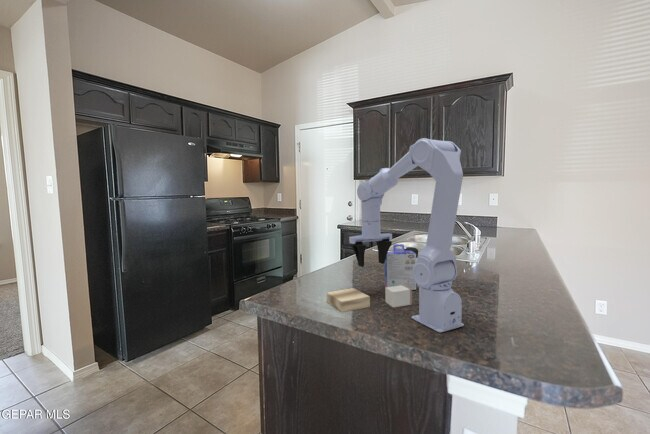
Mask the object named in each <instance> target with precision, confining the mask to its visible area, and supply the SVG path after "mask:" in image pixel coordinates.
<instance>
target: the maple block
mask: <svg viewBox="0 0 650 434" xmlns="http://www.w3.org/2000/svg"><path fill="white" fill-rule="evenodd" d="M326 302H327V303H328V304H329V305H330V306H332V307H333V308H335V309H336V310H338V311H339V312H341V313H344V312H349V311H355V310H360V309H364V308H370V307H371V296H370V295H368V294H366V293H364V292H362V291H360V290H358V289H356V288H354V287H351V288H345V289H339V290H334V291H328V292H326Z"/></svg>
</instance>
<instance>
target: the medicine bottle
mask: <svg viewBox="0 0 650 434" xmlns="http://www.w3.org/2000/svg"><path fill="white" fill-rule="evenodd" d="M404 248H405V251H413V252H415V253H416V261H417V258H418V254H419V250H418V248H416V247H413V246H411V247H410V246H407V247H405V246H404ZM416 285H417V283H416Z"/></svg>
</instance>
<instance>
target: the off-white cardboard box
mask: <svg viewBox="0 0 650 434" xmlns="http://www.w3.org/2000/svg"><path fill="white" fill-rule="evenodd" d="M384 291H385V293H384V294H385V303H386V304H387V305H389V306H390V307H391V308H399V307H404V306H405V307H406V306H413V290H412V289H411V288H409V287H407V286H405V285H400V286H393V287H385V286H384Z"/></svg>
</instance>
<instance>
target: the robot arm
mask: <svg viewBox="0 0 650 434" xmlns="http://www.w3.org/2000/svg"><path fill="white" fill-rule="evenodd" d="M461 154H462V150H461V149H460V148H459V147H458V145H456V144H455V142H453V141H450V140H439V139H430V138H426V137H422V138H419V139H418V140H416V141H415V143H413V144H412V145H410V146H409V149H408V151H407V153H406V154H404V155H403V156H402V157H401V158H400V159H399V160H398V161H397V162H395V164H393V165H392V166H391V167H390V168H389V167H384V168H383V167H382V168H380V169H379V172H378V173H377V174H376V175H374V176H372V177H371V178H369V180H367V181H361V182H360V183H359V184H358V186H357V188H356V193H357V197H358V199H359V200H360V201H361V205H360V206H361V207H360V208H361V209H360V210H361V234H359V235H353V236H349V237H348V238H349V239H348V240H349V241H348V243H349V244H350V246H351V248H352V250H353V252H354V255H355V257H356V261H357V265H358V267H360V268H364V267H365V253H366V252H365V251H366V247H367V245H366V244H364V243H369V242H370V243H371V242H376V247H377V254H378V263H379V264H382V265H384V263H385V259H386V255H387V252H389V249H390V248H391V246H392V245H393V241H392V240H393V233H389V232H387V233H381V232H382V231H381V206H382V204H383V199H384V196H385V194H386V193H387V192H388V191H390V190H391V189H392V188H394V187H396V186H397V184H398V181H399V178H401V177H403V176H405V175H406V174H407V173H409V172H411V171H412V170H414V169H416V168H417V167H420V168H421V169H422V170H424V171H425V172H427V173H428V174H429V175H430V177H432V178H433V180H434V181H435V184H434V186H435V187H434V192H433V199H432V204H431V205H432V206H431V212H430V219H429V225H428V231H427V236H426V243H425V244H426V245H425V247H423V248H422V250H420V251H419V252H418V258H417V261H416V263H415V264H414V266H413V270H412V273H413V278H414V280H415V282H416V283H417V284H416V287H418V288H419V289H418V290H419V291H418V292H419V295H418V305H419V307H418V308H419V310H418V313H419V314H416V315H412V316H411V319H412V320H414V321H416V322H417V323H420V324H421V325H424V326H426V327H427V328H430V329H432V330H434V331H435V332H437V333H439V334H440V333H444V332H448V331H451V330H454V329H458V328H461V327H464V326H465V324H464V323H463V322H462V312H463V309H462V308H463V307H462V306H463V305H462V304H463V301H462V298H461V296H460V294H459V293H457V292H456V291H454V290H453V289H452V287H451V286H453V281H455V279H456V278H457V276H458V267H457V262H456V261H457V255H456V254H455V253H454V251H452V248H451V247H452V242H453V236H454V231H455V225H456V220H457V218H456V217H457V214H458V208H459V207H458V206H459V202H460V197H461V190H462V185H463V180H464V179H463V178H464V172H463V169H462V164H461Z"/></svg>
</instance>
